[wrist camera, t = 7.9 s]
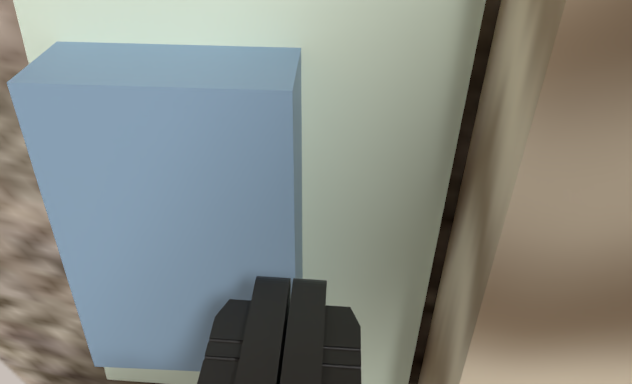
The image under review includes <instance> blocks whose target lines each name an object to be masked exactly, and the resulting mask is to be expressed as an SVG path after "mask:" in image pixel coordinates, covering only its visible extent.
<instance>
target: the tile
mask: <svg viewBox="0 0 632 384" xmlns="http://www.w3.org/2000/svg"><path fill="white" fill-rule="evenodd" d="M7 85H8V88H9V92H10V95H11V98H12V101H13V105H14V108H15V111H16V114H17V117H18V121H19V124H20V127H21V130H22V134H23V137H24V140H25V143H26V146H27V150H28V153H29V156H30V159H31V163H32V166H33V169H34V172H35V176H36V179H37V182H38V185H39V188H40V192H41V195H42V198H43V201H44V205H45V208H46V211H47V214H48V218H49V221H50V224H51V227H52V230H53V234H54V237H55V240H56V243H57V247H58V250H59V253H60V256H61V260H62V263H63V266H64V269H65V272H66V276H67V279H68V282H69V285H70V289H71V292H72V295H73V298H74V302H75V305H76V308H77V311H78V314H79V318H80V321H81V324H82V327H83V331H84V334H85V337H86V340H87V344H88V347H89V350H90V353H91V356H92V360H93V363H94V366H95V367H114V368H136V369H157V370H178V371H199V372H200V371H201V367H202V363H203V360H204V358H205V352H206V348H207V344H208V342H209V337H210V333H211V329H212V325H213V322H214V318H215V316H216V315H217V314H218V312H219V311H220V310H221V309H222V308H223V306H224V305H225V304H226V303H227V302H228V300H229V299H236V300H251V299H252V294H253V289H254V284H255V279H256V277H257V276H266V277H281V278H291V291H292V283H293V278H299V279H303V268H302V105H301V48H289V47H250V46H212V45H173V44H135V43H97V42H58V41H57V42H56V43H54V44H53V45H52V46H51V47H49V48H48V49H47V50H46V51H45V52H43V53H42V54H41V55H40V56H38V57H37V58H36V59H35V60H34V61H32V62H31V63H30V64H29V65H28V66H26V67H25V68H24V69H23V70H21V71H20V72H19V73H18V74H17V75H15V76H14V77H13V78H12V79H10V80H9V81H8V82H7Z"/></svg>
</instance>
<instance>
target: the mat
mask: <svg viewBox="0 0 632 384" xmlns="http://www.w3.org/2000/svg"><path fill="white" fill-rule="evenodd" d="M13 2H14V6H15V10H16V14H17V18H18V22H19V26H20V30H21V34H22V38H23V42H24V46H25V50H26V54H27V58H28V62H29V64H30V63H31V62H32V61H34V60H35V59H36V58H37V57H38V56H40V55H41V54H42V53H43V52H45V51H46V50H47V49H48V48H49V47H51V46H52V45H53V44H54V43H56V42H57V41H58V42H97V43H135V44H173V45H212V46H250V47H289V48H301V105H302V268H303V279H314V280H327V288H326V305H329V306H344V307H351V309H352V311H353V313H354V315H355V317H356V319H357V320H358V322H359V324H360V326H361V384H408V383H409V378H410V373H411V368H412V363H413V358H414V353H415V348H416V343H417V338H418V333H419V328H420V323H421V318H422V314H423V309H424V304H425V299H426V294H427V289H428V284H429V279H430V274H431V269H432V264H433V259H434V254H435V249H436V244H437V239H438V235H439V230H440V225H441V220H442V215H443V210H444V205H445V200H446V195H447V190H448V185H449V180H450V175H451V170H452V165H453V161H454V156H455V151H456V146H457V141H458V136H459V131H460V126H461V121H462V116H463V111H464V106H465V101H466V96H467V91H468V87H469V82H470V77H471V72H472V67H473V62H474V57H475V52H476V47H477V42H478V37H479V32H480V27H481V22H482V17H483V13H484V8H485V3H486V0H13ZM104 369H105V373H106V377H107V380H121V381H135V382H150V383H164V384H197V382H198V378H199V374H200V372H199V371H178V370H157V369H136V368H114V367H104Z"/></svg>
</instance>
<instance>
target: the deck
mask: <svg viewBox="0 0 632 384" xmlns="http://www.w3.org/2000/svg"><path fill="white" fill-rule="evenodd" d="M418 384H632V0H501V3H500V8H499V12H498V17H497V22H496V26H495V31H494V35H493V40H492V45H491V49H490V54H489V58H488V63H487V68H486V72H485V77H484V81H483V86H482V91H481V95H480V100H479V104H478V109H477V114H476V118H475V123H474V127H473V132H472V137H471V141H470V146H469V151H468V155H467V160H466V164H465V169H464V174H463V178H462V183H461V187H460V192H459V197H458V201H457V206H456V210H455V215H454V220H453V224H452V229H451V233H450V238H449V243H448V247H447V252H446V256H445V261H444V266H443V270H442V275H441V280H440V284H439V289H438V293H437V298H436V303H435V307H434V312H433V316H432V321H431V326H430V330H429V335H428V339H427V344H426V349H425V353H424V358H423V362H422V367H421V372H420V376H419V381H418Z"/></svg>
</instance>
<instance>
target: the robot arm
mask: <svg viewBox="0 0 632 384" xmlns="http://www.w3.org/2000/svg"><path fill="white" fill-rule="evenodd" d="M326 288H327V280H314V279H299V278H293V283H292V291H291V278H281V277H266V276H257V277H256V279H255V284H254V289H253V294H252V299H251V300H236V299H229V300H228V302H227V303H226V304H225V305H224V306H223V308H222V309H221V310H220V311H219V312H218V314H217V315H216V316H215V318H214V322H213V325H212V329H211V333H210V337H209V342H208V344H207V348H206V352H205V358H204V360H203V363H202V367H201V371H200V374H199V378H198V382H197V384H361V326H360V324H359V322H358V320H357V319H356V317H355V315H354V313H353V311H352V309H351V307H344V306H329V305H326Z"/></svg>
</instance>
